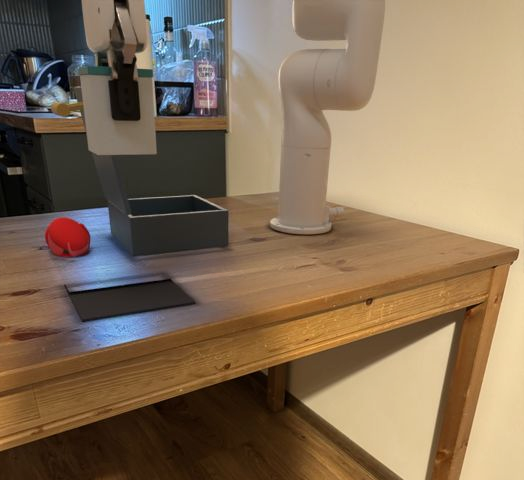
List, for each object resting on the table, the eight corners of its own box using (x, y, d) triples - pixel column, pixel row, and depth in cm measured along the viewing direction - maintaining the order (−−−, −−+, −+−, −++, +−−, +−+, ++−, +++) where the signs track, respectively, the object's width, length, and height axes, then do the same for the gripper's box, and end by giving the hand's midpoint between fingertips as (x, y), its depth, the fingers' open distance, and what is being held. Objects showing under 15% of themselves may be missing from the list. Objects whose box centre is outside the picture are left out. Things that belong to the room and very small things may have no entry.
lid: (78, 86, 79) (41, 92, 77) (98, 86, 67) (56, 93, 65) (109, 196, 88) (77, 204, 86) (132, 214, 76) (95, 223, 74)
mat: (163, 273, 74) (163, 271, 74) (195, 303, 64) (195, 301, 64) (64, 286, 68) (64, 284, 68) (82, 321, 58) (82, 319, 58)
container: (144, 149, 65) (139, 70, 61) (157, 154, 60) (152, 69, 56) (87, 150, 62) (77, 67, 58) (97, 155, 57) (87, 65, 53)
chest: (196, 230, 98) (195, 194, 95) (228, 250, 86) (228, 210, 83) (111, 238, 91) (107, 200, 88) (133, 260, 79) (129, 217, 76)
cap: (101, 257, 80) (96, 220, 77) (65, 265, 76) (59, 225, 73) (76, 247, 85) (71, 211, 82) (42, 253, 81) (35, 216, 78)
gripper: (164, -91, 46) (173, 123, 54) (119, -51, 59) (132, 116, 68) (79, -108, 43) (103, 123, 51) (52, -62, 56) (74, 115, 64)
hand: (119, 117), depth 59 cm, fingers closed on container, 5 cm apart
